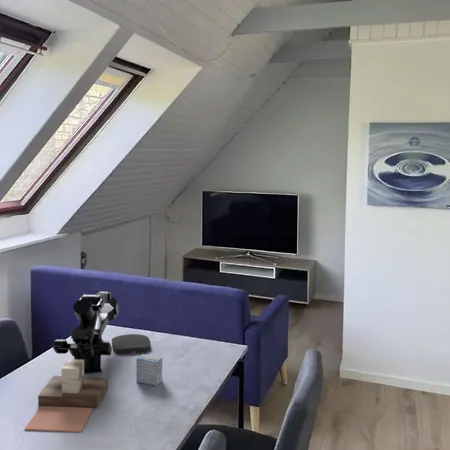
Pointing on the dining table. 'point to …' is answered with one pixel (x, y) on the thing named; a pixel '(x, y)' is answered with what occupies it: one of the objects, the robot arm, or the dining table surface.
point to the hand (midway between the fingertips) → (77, 372)
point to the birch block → (72, 376)
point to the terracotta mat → (59, 419)
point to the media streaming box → (131, 344)
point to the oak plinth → (84, 398)
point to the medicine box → (149, 369)
